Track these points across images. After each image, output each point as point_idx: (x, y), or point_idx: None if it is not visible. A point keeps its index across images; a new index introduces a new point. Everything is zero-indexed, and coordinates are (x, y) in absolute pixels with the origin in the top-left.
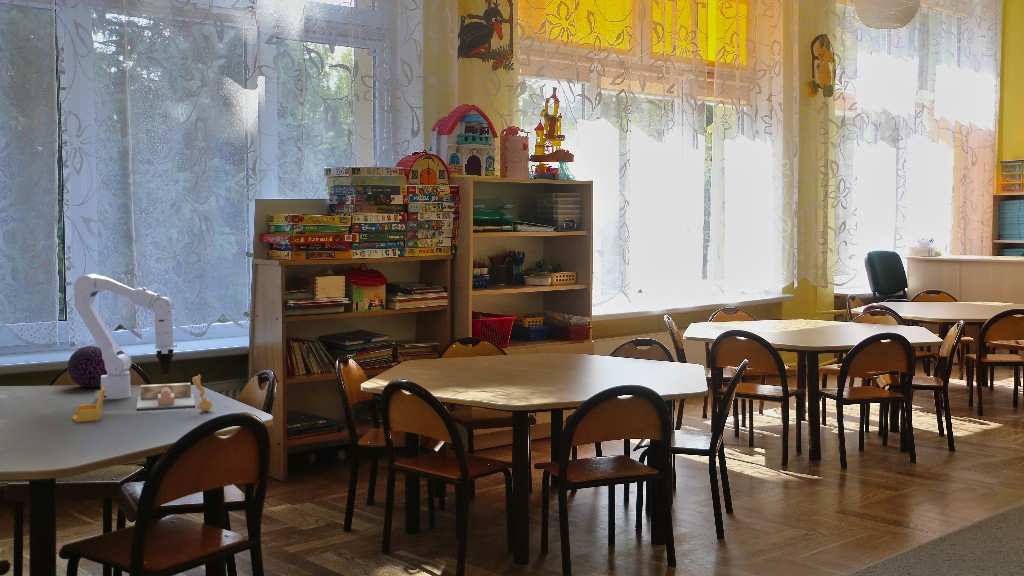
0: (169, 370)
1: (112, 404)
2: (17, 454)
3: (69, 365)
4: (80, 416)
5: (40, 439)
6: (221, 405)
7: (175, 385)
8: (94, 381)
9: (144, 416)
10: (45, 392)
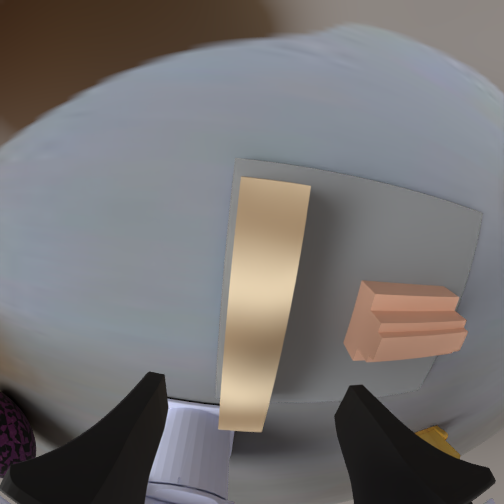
0: (376, 399)
1: (261, 439)
2: (500, 428)
3: None
4: None
5: (473, 439)
6: (464, 110)
7: (293, 289)
8: (24, 423)
9: (473, 354)
10: None
